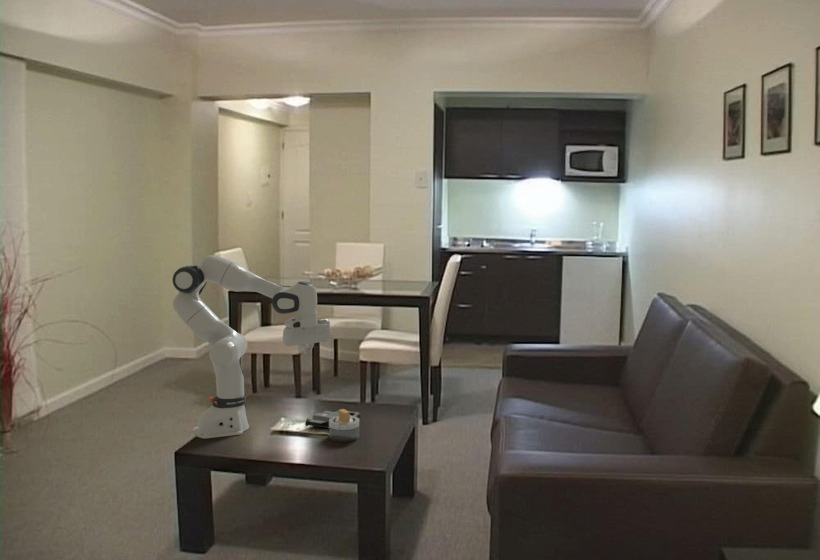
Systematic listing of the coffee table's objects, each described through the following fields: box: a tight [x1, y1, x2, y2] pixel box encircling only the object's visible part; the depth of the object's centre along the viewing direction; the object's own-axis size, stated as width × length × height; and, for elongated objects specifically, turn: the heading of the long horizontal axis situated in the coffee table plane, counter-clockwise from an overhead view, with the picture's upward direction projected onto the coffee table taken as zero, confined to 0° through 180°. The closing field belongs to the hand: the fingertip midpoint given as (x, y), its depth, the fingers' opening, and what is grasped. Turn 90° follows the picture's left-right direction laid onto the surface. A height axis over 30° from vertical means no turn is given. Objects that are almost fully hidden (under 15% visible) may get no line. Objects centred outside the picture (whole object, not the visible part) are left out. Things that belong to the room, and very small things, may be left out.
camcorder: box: [305, 410, 362, 428], centre depth 317 cm, size 16×20×5 cm
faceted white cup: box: [328, 416, 360, 443], centre depth 302 cm, size 12×12×7 cm
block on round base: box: [335, 408, 353, 424], centre depth 301 cm, size 7×7×6 cm
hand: (307, 354), depth 310 cm, fingers closed
